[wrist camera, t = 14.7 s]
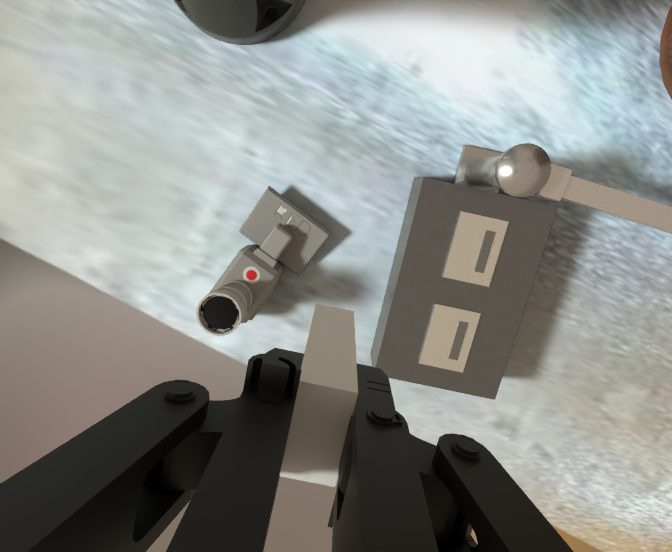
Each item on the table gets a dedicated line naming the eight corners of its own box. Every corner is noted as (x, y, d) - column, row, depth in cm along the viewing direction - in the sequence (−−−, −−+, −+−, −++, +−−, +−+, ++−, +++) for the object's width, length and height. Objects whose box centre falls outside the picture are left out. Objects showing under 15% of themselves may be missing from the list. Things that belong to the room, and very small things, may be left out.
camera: (161, 314, 41) (251, 186, 38) (201, 285, 52) (272, 185, 50) (236, 366, 42) (329, 245, 39) (259, 326, 53) (332, 231, 51)
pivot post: (463, 145, 48) (504, 133, 36) (506, 154, 48) (562, 146, 36) (451, 189, 49) (487, 193, 37) (493, 199, 49) (543, 206, 37)
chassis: (414, 177, 49) (424, 176, 43) (532, 203, 49) (560, 206, 43) (370, 353, 54) (373, 376, 48) (478, 375, 54) (495, 401, 48)
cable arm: (524, 195, 41) (537, 197, 38) (538, 162, 40) (552, 161, 37) (749, 265, 42) (777, 271, 39) (765, 233, 41) (795, 237, 38)
